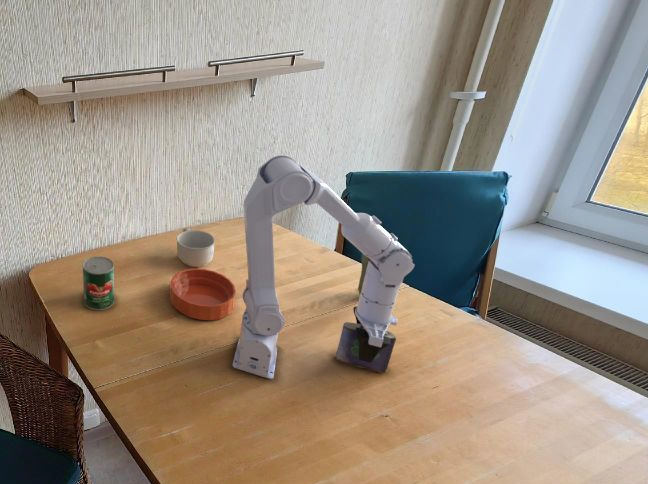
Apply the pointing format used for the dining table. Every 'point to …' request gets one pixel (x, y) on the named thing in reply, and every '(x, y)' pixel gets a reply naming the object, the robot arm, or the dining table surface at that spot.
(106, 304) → the canned tomato
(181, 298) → the terracotta plant saucer
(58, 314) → the dining table surface
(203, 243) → the teacup
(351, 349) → the flask
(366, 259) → the vegetable
